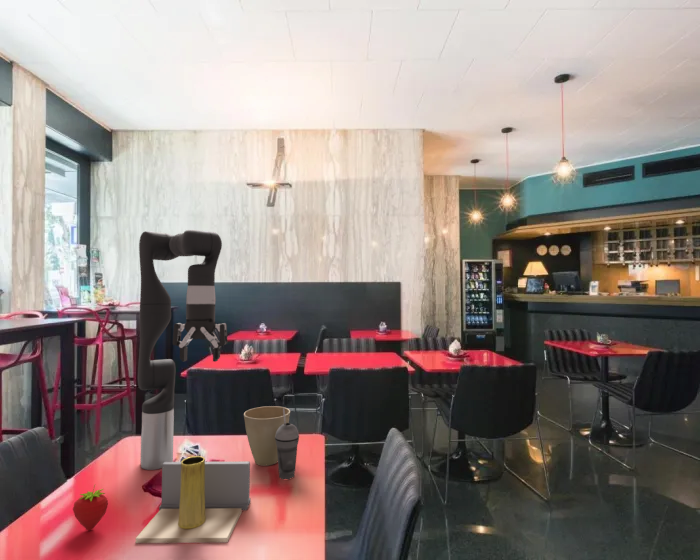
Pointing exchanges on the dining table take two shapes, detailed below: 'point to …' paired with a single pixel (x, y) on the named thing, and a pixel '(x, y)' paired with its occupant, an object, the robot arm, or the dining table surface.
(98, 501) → the strawberry
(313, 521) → the dining table surface
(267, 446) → the plant pot
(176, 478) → the screen
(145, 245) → the robot arm
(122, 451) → the dining table surface
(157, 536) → the board
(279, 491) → the dining table surface
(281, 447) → the beverage cup
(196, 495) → the vase
